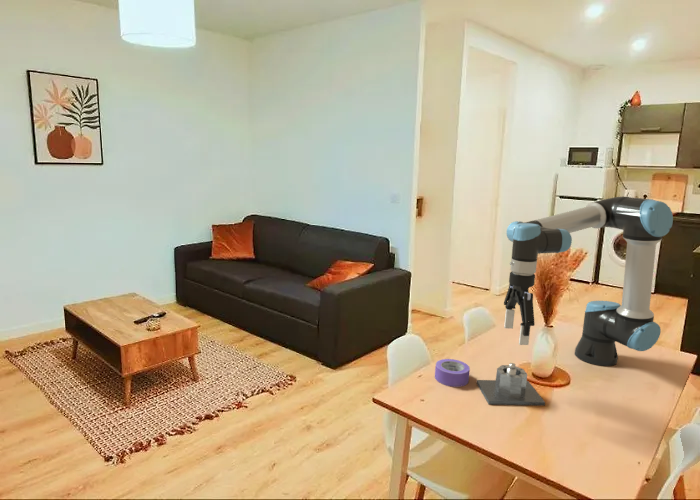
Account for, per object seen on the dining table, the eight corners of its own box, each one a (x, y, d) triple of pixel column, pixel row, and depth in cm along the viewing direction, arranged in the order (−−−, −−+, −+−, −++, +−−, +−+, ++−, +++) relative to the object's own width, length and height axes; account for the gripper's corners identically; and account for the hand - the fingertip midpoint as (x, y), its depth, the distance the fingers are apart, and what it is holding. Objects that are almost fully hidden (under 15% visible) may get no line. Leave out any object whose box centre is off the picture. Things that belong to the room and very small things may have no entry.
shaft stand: (527, 384, 163) (531, 355, 161) (544, 405, 150) (548, 374, 147) (476, 383, 163) (479, 354, 161) (488, 404, 149) (491, 373, 147)
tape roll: (457, 369, 173) (458, 357, 172) (475, 384, 162) (476, 371, 161) (428, 373, 169) (429, 360, 168) (445, 389, 159) (446, 375, 158)
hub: (518, 384, 160) (520, 365, 159) (528, 397, 152) (530, 377, 150) (492, 383, 160) (494, 364, 159) (501, 397, 152) (503, 377, 150)
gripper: (497, 262, 160) (492, 321, 164) (525, 283, 135) (518, 351, 140) (519, 263, 160) (513, 322, 164) (551, 284, 135) (543, 352, 140)
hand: (515, 336), depth 152 cm, fingers open, 13 cm apart
